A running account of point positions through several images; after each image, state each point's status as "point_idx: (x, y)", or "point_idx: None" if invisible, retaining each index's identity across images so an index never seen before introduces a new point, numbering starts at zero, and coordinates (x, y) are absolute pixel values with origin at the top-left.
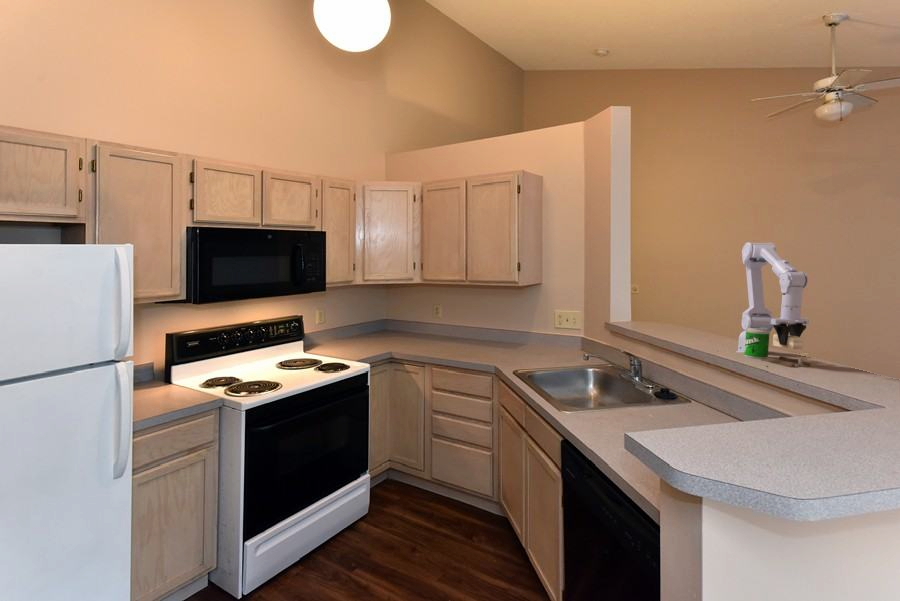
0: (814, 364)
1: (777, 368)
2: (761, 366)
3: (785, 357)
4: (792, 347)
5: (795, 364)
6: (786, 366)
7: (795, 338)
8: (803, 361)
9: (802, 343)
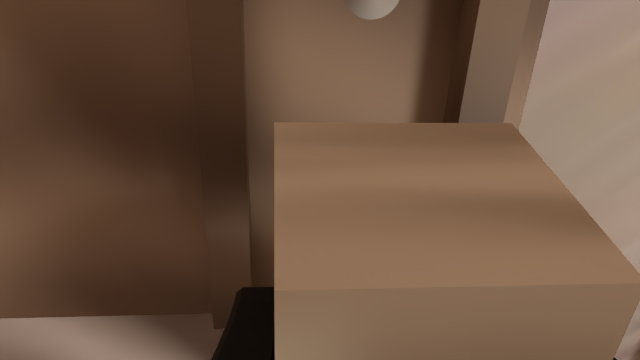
0: (18, 33)
1: (575, 59)
2: (633, 166)
3: (230, 281)
4: (524, 151)
5: (303, 79)
6: (547, 3)
7: (574, 268)
8: (210, 57)
9: (284, 183)
